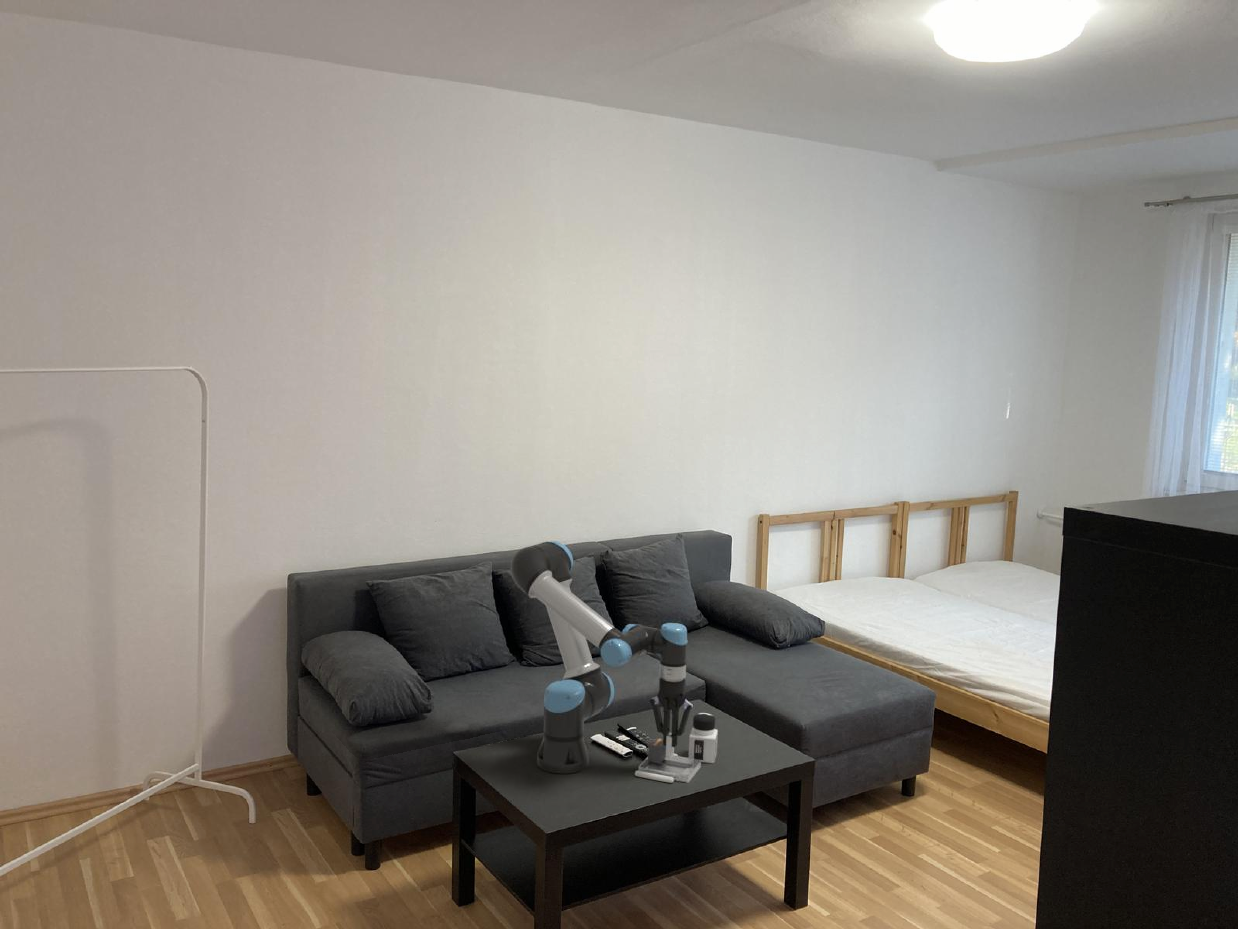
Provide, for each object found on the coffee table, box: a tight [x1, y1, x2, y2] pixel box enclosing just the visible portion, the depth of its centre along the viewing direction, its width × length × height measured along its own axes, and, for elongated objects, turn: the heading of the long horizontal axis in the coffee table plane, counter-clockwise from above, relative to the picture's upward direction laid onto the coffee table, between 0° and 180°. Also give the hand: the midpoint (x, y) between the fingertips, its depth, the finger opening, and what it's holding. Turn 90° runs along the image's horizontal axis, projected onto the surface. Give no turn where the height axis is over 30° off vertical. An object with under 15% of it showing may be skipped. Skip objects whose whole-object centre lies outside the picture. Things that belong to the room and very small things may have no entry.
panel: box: [638, 755, 702, 783], centre depth 289 cm, size 15×12×2 cm
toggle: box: [647, 738, 666, 763], centre depth 290 cm, size 4×5×5 cm
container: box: [688, 712, 719, 764], centre depth 298 cm, size 8×8×13 cm
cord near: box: [634, 770, 675, 784], centre depth 282 cm, size 12×2×2 cm, turn 68°
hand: (669, 756), depth 289 cm, fingers closed
